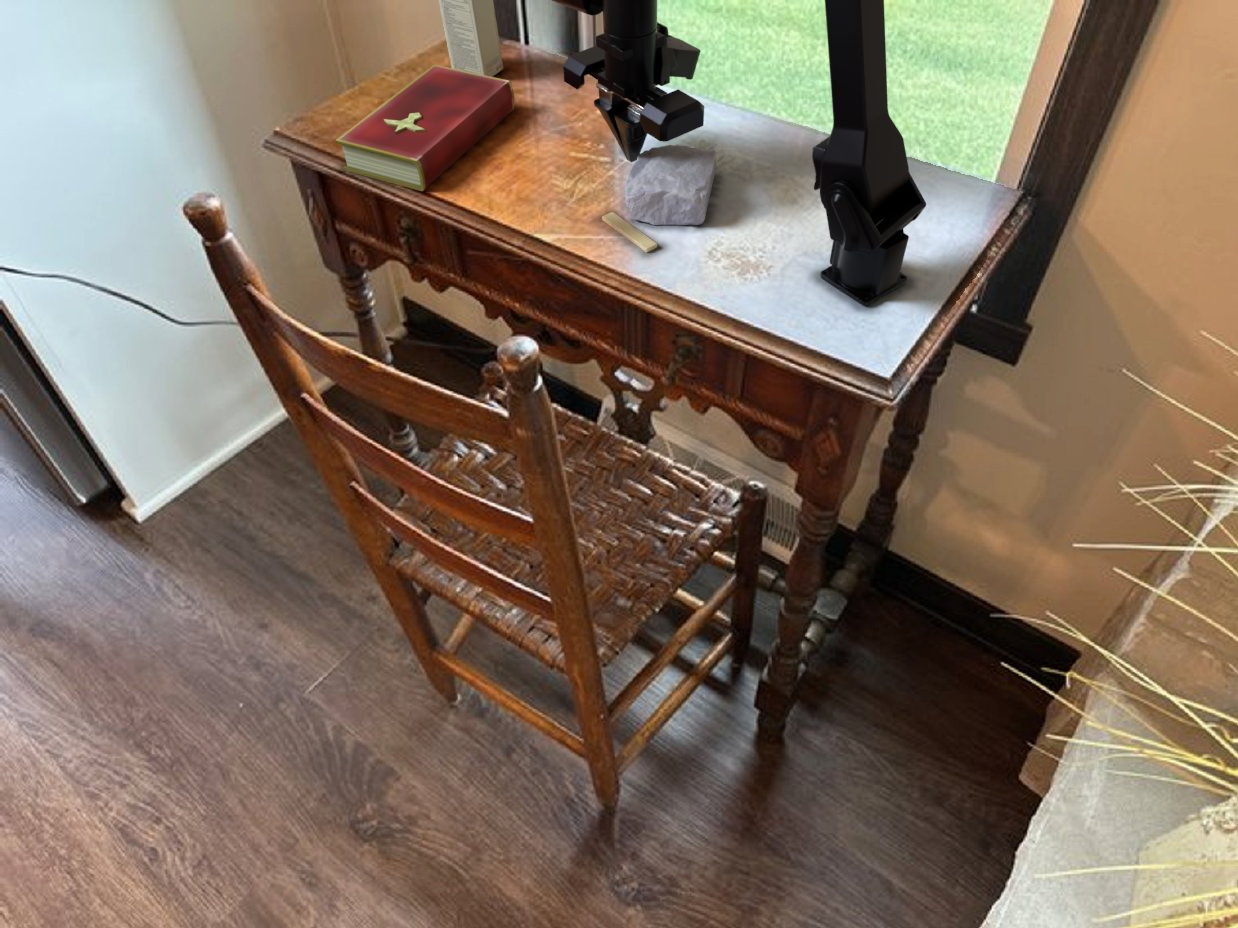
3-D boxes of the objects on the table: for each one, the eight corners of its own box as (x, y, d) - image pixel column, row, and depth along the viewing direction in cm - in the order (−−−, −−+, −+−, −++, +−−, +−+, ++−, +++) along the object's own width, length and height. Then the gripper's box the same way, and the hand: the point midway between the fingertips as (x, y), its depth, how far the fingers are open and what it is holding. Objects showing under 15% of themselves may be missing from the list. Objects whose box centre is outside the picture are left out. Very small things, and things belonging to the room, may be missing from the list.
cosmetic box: (504, 70, 127) (492, -23, 118) (484, 83, 125) (471, -10, 116) (469, 60, 130) (455, -32, 120) (449, 72, 127) (433, -20, 118)
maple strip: (657, 247, 99) (657, 243, 99) (646, 252, 98) (646, 249, 98) (612, 215, 103) (612, 211, 103) (602, 220, 103) (601, 216, 102)
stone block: (624, 236, 103) (711, 227, 101) (615, 198, 100) (705, 188, 97) (640, 182, 111) (721, 172, 109) (632, 145, 108) (716, 134, 105)
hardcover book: (515, 110, 120) (512, 79, 116) (425, 192, 107) (418, 159, 104) (439, 92, 123) (433, 62, 120) (343, 170, 111) (334, 138, 108)
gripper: (746, 33, 95) (736, 169, 106) (635, -21, 105) (636, 108, 116) (663, 66, 90) (662, 203, 102) (555, 6, 100) (565, 138, 112)
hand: (632, 160), depth 108 cm, fingers closed
